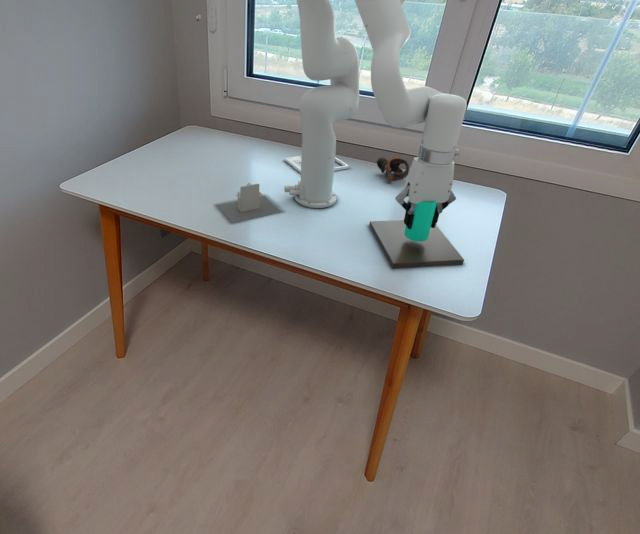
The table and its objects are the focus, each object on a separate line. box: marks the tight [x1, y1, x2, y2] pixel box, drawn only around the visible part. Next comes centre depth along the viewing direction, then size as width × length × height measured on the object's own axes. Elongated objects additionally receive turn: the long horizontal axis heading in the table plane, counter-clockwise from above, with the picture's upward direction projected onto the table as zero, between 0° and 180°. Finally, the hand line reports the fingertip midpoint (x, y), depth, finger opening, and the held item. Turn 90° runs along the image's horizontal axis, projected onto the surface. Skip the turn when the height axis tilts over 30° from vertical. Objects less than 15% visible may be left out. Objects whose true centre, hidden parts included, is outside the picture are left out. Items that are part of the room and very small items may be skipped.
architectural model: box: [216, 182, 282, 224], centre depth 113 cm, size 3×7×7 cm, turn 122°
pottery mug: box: [376, 156, 410, 184], centre depth 138 cm, size 12×10×8 cm
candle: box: [404, 201, 437, 242], centre depth 99 cm, size 6×6×12 cm
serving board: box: [368, 219, 465, 270], centre depth 104 cm, size 18×20×2 cm
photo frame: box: [284, 155, 350, 174], centre depth 144 cm, size 15×1×18 cm
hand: (419, 225), depth 100 cm, fingers closed on candle, 5 cm apart
